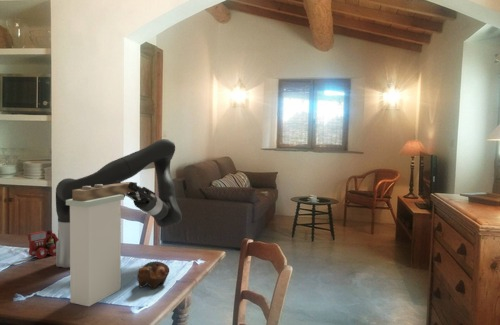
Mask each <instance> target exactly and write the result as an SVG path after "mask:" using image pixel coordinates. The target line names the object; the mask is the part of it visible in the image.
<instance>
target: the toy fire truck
mask: <svg viewBox="0 0 500 325" xmlns="http://www.w3.org/2000/svg"><path fill="white" fill-rule="evenodd" d="M27 240H28V245H29V246H28V248H29V250H28V254H29V256H31V257H36V258H38V259H44V258H45V257H46V256H47V254H49V255H50V256H53V257H55V256H56V242H57V241H58V235H56V233H53V230H52V229H48V230H47V231H44V230H41V231H37V232H32V233H31V232H30V233H29V234H27Z"/></svg>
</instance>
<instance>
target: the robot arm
mask: <svg viewBox="0 0 500 325" xmlns="http://www.w3.org/2000/svg"><path fill="white" fill-rule="evenodd" d="M175 151H176V145H175V142H174V141H173V140H171V139H168V138H162V139H159V140H156V141H155V142H153V143H151V144H149V145H147V146H145V147H144V148H142V149H140V150H137V151H135V152H132V153H130V154H127V155H124V156H122V157H119V158H116V159H115V160H112V161H110V162H108V163H106V164H105V165H104V166H102V167H101V168H100V169H98V170H97V171H95V172H93V173H91V174H89V175H86V176H84V177H80V178H77V179H75V178H69V177H68V178H64V179H61V180H60V181H59V182H58V184H57V185H56V188H55V210H56V215H57V238H58V241H57V242H56V255H55V256H56V258H55V260H56V261H55V262H56V265H55V266H56V267H61V268H70V205H66V200H69V199H72V190H76V189H82V186H91V187H95V185H96V184H103V185H110V184H117V183H123V182H125V181H127V180H128V179H131V178H133V177H134V176H136V175H137V174H139V173H140V172H141V171H142V170H143V169H145V168H146V167H147V166H149V165H150V164H151V163H153V165H154V169H155V173H156V179H157V180H156V181H157V182H156V183H157V192H158V193H157V194H158V196H157V195H156V193H155V192H154V191H152V190H151V189H149V188H147V187H145V186H142V187H141V186H140V185H138V184H137V185H136V184H134V183H133V182H132V181H129V182H130V183H129V186H128V188H129V189H131V190H132V191H134V192H129V193H124V194H119V195H124V199H125V197H127V198H129V199H130V200H131V201H133V204H134V207H136V208H138V209H139V210H140V211H142V212H144V213H145V214H147V215H149V216H151V217H152V218H153V219H154V221H155V222H156V224H157V226H159V227H160V228H166V227H170V226H174V225H178V224H179V223H181V221H182V218H183V214H182V211H181V209H180V207H179V204H178V200H177V198H176V189H175V183H174V180H173V178H172V175H171V161H172V159H173V157H174V155H175Z"/></svg>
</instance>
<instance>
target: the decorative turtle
mask: <svg viewBox="0 0 500 325" xmlns="http://www.w3.org/2000/svg"><path fill="white" fill-rule="evenodd" d="M169 274H170V268H169V266H168V265H167V264H166V263H164V262H161V261H150V262H147V263H145V264H144V265H143V266H141V267H140V268H139V269H138V272H137V282H138V285H139V287H140V288H143V287H146V285H149V287H150V288H151V289H153V290H155V289H156V288H158V287H159V285H164V284H165V282H166V280H167V278H168V276H169Z"/></svg>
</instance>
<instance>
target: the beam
mask: <svg viewBox="0 0 500 325" xmlns="http://www.w3.org/2000/svg"><path fill="white" fill-rule="evenodd" d="M130 182H131V181H122V182H121V183H117V184H110V185H103V184H96V185H95V187H91V186H82V189H76V190H72V200H75V201H87V200H93V199H98V198H103V197H108V196H114V195H119V194H124V193H129V192H134V191H132V190H131V189H129V188H128V186H129V183H130ZM133 183H134V184H136V185H137V186H138V182H137V181H136V182H135V181H134V182H133Z"/></svg>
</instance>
